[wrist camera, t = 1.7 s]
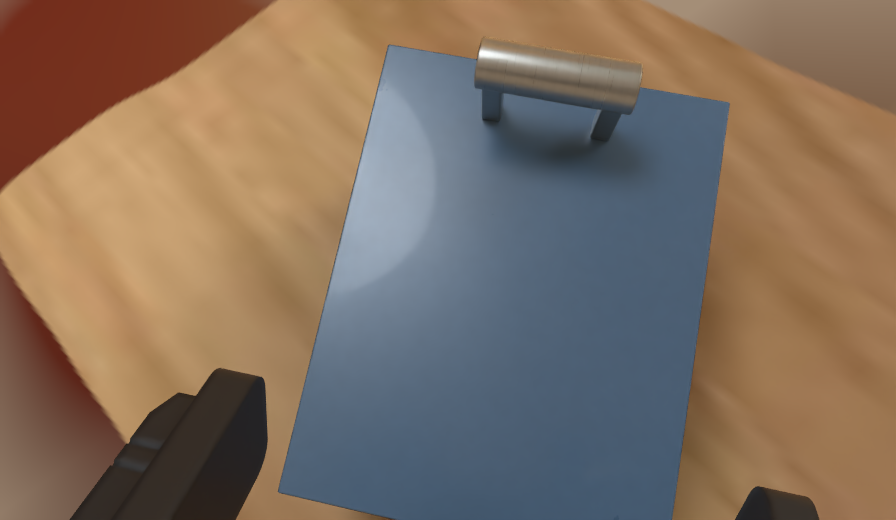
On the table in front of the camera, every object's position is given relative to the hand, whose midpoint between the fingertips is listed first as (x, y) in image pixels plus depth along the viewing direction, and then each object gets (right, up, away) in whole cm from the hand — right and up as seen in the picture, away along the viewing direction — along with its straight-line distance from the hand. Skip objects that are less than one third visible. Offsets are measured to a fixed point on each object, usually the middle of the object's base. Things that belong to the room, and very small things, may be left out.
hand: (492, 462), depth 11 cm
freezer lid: (+2, +2, +13) cm, 14 cm away
